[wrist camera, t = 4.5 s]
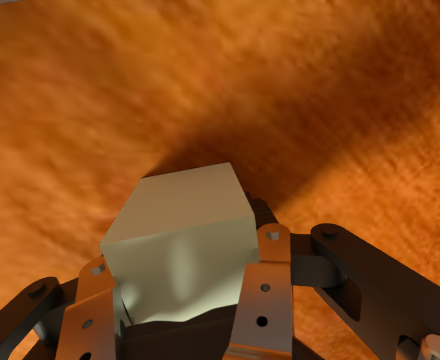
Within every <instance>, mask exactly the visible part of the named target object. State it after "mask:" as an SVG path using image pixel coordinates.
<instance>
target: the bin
mask: <svg viewBox="0 0 440 360" xmlns="http://www.w3.org/2000/svg"><path fill="white" fill-rule="evenodd" d="M13 1H20V0H0V4H1V3H7V2H13Z"/></svg>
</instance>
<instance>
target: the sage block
mask: <svg viewBox="0 0 440 360" xmlns="http://www.w3.org/2000/svg"><path fill="white" fill-rule="evenodd" d="M99 246H100V249H101V251H102V253H103V256H104V258H105V260H106V263H107V265H108V267H109V270H110V272H111V274H112V277H114V276H116V277H117V279H118V282H119V284H120V287H121V297H122V300H123V302H124V304H125V307H126V309H127V311H128V314H129V316H130V317H134V319H135V322H136V324H140V323H145V322H150V321H155V320H158V321H186V320H189V319H191V318H193V317H195V316H198V315H200V314H202V313H204V312H206V311H209V310H211V309H213V308H218V307H223V306H228V305H233V304H238V301H239V296H240V291H241V286H242V282H243V277H244V272H245V267H246V263H247V260H252V255H253V249H255V248H259V247H258V239H257V231H256V223H255V215H254V213H253V211H252V209H251V206H250V204H249V202H248V200H247V198H246V196H245V194H244V192H243V189H242V187H241V185H240V183H239V181H238V179H237V177H236V175H235V172H234V170H233V168H232V166H231V164H230V162H226V163H221V164H216V165H210V166H205V167H200V168H194V169H189V170H184V171H178V172H173V173H168V174H162V175H157V176H151V177H146V178H141V179H140V181H139V182H138V184H137V185H136V187H135V189H134V190H133V192H132V193H131V195H130V196H129V198H128V200H127V201H126V203H125V204H124V206H123V208H122V209H121V211H120V212H119V214H118V216H117V217H116V219H115V220H114V222H113V224H112V225H111V227H110V228H109V230H108V232H107V233H106V235H105V236H104V238H103V239H102V241H101V243H100V244H99Z"/></svg>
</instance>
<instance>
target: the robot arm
mask: <svg viewBox="0 0 440 360" xmlns="http://www.w3.org/2000/svg"><path fill="white" fill-rule="evenodd" d="M244 194H245V196H246V198H247V200H248V202H249V204H250V206H251V209H252V211H253V213H254V215H255V223H256V231H257V239H258V247H259V248H255V249H253V255H252V260H247V263H246V267H245V272H244V277H243V282H242V286H241V291H240V296H239V301H238V304H233V305H228V306H223V307H218V308H213V309H211V310H209V311H206V312H204V313H202V314H200V315H198V316H195V317H193V318H191V319H189V320H186V321H158V320H155V321H150V322H145V323H140V324H136V322H135V319H134V317H130V316H129V314H128V311H127V309H126V307H125V304H124V302H123V300H122V297H121V287H120V284H119V282H118V279H117V277H116V276H114V277H112V274H111V272H110V270H109V267H108V265H107V263H106V260H105V258H104V256H103V254H102V256H101V257H98V258H96V259H94V260H92V261H90V262H89V263H87V264H86V265H85V266H84V267H83V268H82V269H81V271H80V273H79V277H78V278H76V279H73V280H71V281H68V282H66V283H63V284H61V285H60V283H59V281H58V279H57V278H56V277H46V278H42V279H40V280H38V281H36V282H34V283H32V284H30V285H29V286H27V287H26V288H25V289H24V290H22V291H21V292H20V293H19V294H18V295H17V296H16V297H15V298H14V299H12V300H11V301H10V302H9V303H8V304H7V305H6V306H5V307H4V308H2V309H1V310H0V360H8V358H9V356H10V354H11V352H12V351H13V350H14V349H15V347H16V346H17V345H18V344H19V343H20V342H21V341H22V340H23V339H24V337H25V336H26V335H27V334H28V333H29V332H30V331H31V330H32V329H33V330H34V331H35V333H36V334H37V336H38V337H39V340H38V341H37V343H36V344H35V345H34V346H33V347H32V349H31V350H30V351H29V352H28V353H27V355H26V356H25V357H24V358H23V359H22V360H325V359H323V358H322V357H321V356H319V355H318V354H317V353H316V352H314V351H313V350H312V349H310V348H309V347H308V346H306V345H305V344H304V343H302V342H301V341H300V340H298V339H297V338H296V337H295V325H294V297H293V285H296V286H309V287H313V288H314V290H315V291H316V292H317V293H318V294H319V295H320V296H321V297H322V299H323V300H324V301H325V302H326V303H327V304H328V305H329V306H330V307H331V308H332V309H333V310H334V311H335V312H336V313H337V314H338V315H339V317H340V318H341V319H342V320H343V321H344V322H345V323H346V324H347V325H348V326H349V327H350V328H351V329H352V330H353V331H354V332H355V333H356V334H357V336H358V337H359V338H360V339H361V340H362V341H363V342H364V343H365V344H366V345H367V346H368V347H369V348H370V349H371V350H372V351H373V352H374V354H375V355H376V356H377V357H378V358H379V359H380V360H440V286H438V285H436V284H435V283H433V282H431V281H430V280H428V279H426V278H425V277H423V276H422V275H420V274H418V273H417V272H415V271H413V270H412V269H410V268H408V267H407V266H405V265H404V264H402V263H400V262H399V261H397V260H395V259H394V258H392V257H390V256H389V255H387V254H385V253H384V252H382V251H381V250H379V249H377V248H376V247H374V246H372V245H371V244H369V243H367V242H366V241H364V240H363V239H361V238H359V237H358V236H356V235H354V234H353V233H351V232H349V231H348V230H346V229H345V228H343V227H341V226H339V225H335V224H329V223H324V224H318V225H316V226H314V227H313V228H312V229H311V234H294V233H290V231H289V229H288V228H287V227H286V226H284V225H282V224H279V223H278V221H277V219H276V218H275V216H274V215H273V213H272V212H271V210H270V208H269V207H268V205H267V203H266V202H265V201H263V200H261V199H260V198H258V199H253V200H252V198H251V196H250V194H249V192H244Z"/></svg>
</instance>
